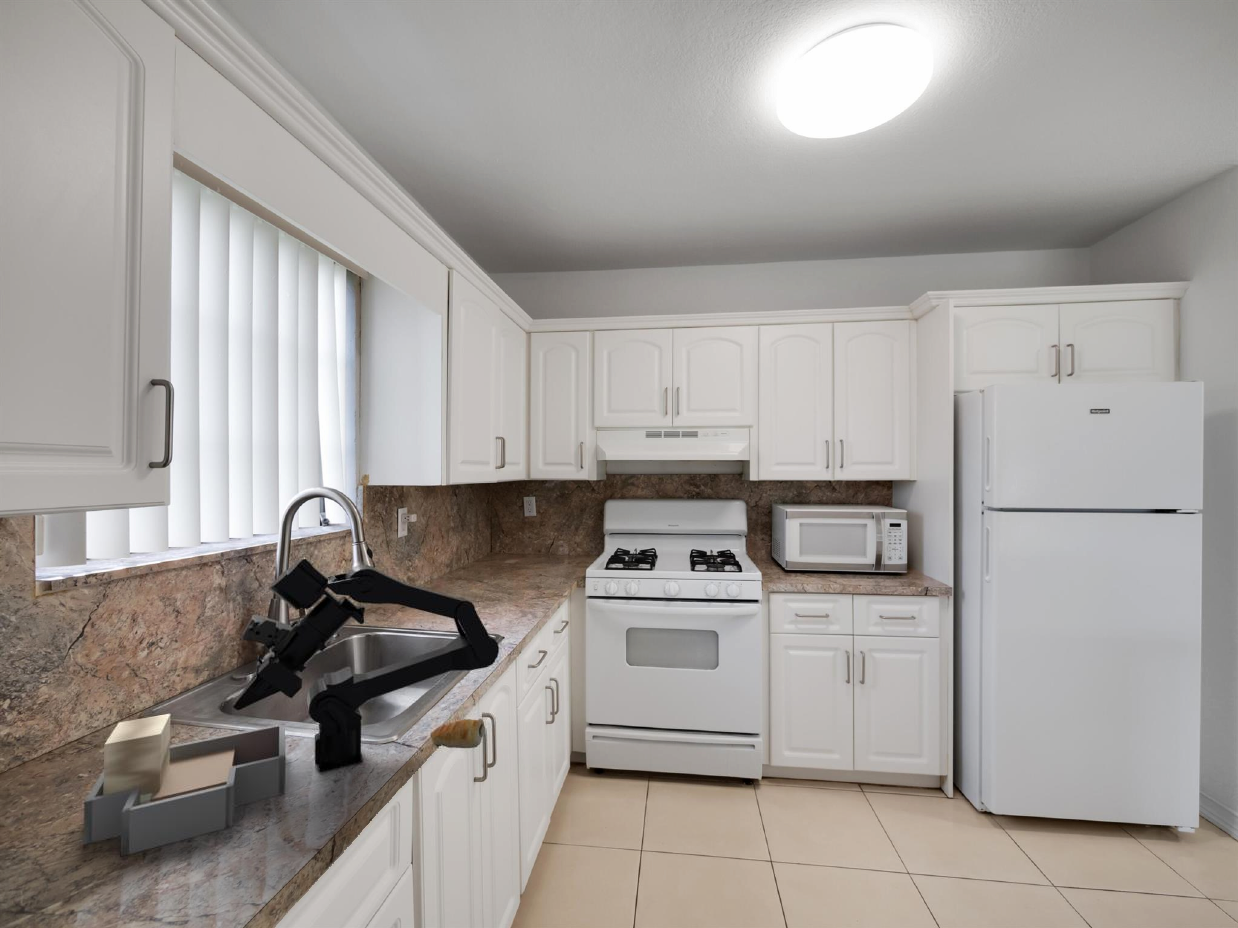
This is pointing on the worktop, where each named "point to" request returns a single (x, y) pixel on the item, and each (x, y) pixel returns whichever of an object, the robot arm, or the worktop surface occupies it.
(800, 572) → the worktop surface
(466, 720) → the pastry
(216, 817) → the box
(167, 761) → the block
